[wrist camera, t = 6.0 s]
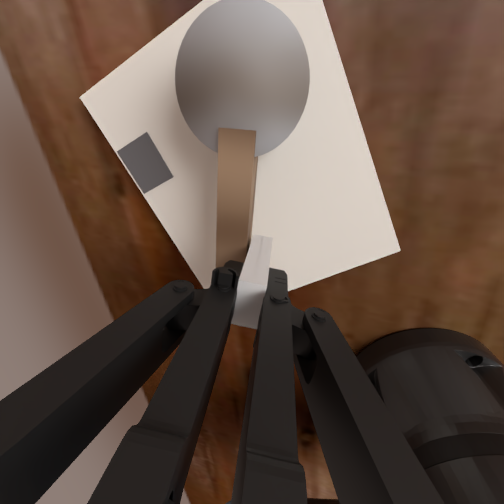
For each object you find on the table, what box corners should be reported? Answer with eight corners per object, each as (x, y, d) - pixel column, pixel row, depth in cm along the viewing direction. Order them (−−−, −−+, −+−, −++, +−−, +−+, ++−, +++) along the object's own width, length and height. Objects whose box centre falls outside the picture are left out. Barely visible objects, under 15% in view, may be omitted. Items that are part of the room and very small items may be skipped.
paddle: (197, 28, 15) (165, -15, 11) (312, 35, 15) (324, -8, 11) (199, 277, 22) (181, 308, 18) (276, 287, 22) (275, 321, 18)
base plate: (393, 243, 21) (401, 251, 20) (224, 306, 26) (220, 315, 25) (297, -55, 15) (298, -77, 13) (93, 100, 19) (78, 97, 18)
